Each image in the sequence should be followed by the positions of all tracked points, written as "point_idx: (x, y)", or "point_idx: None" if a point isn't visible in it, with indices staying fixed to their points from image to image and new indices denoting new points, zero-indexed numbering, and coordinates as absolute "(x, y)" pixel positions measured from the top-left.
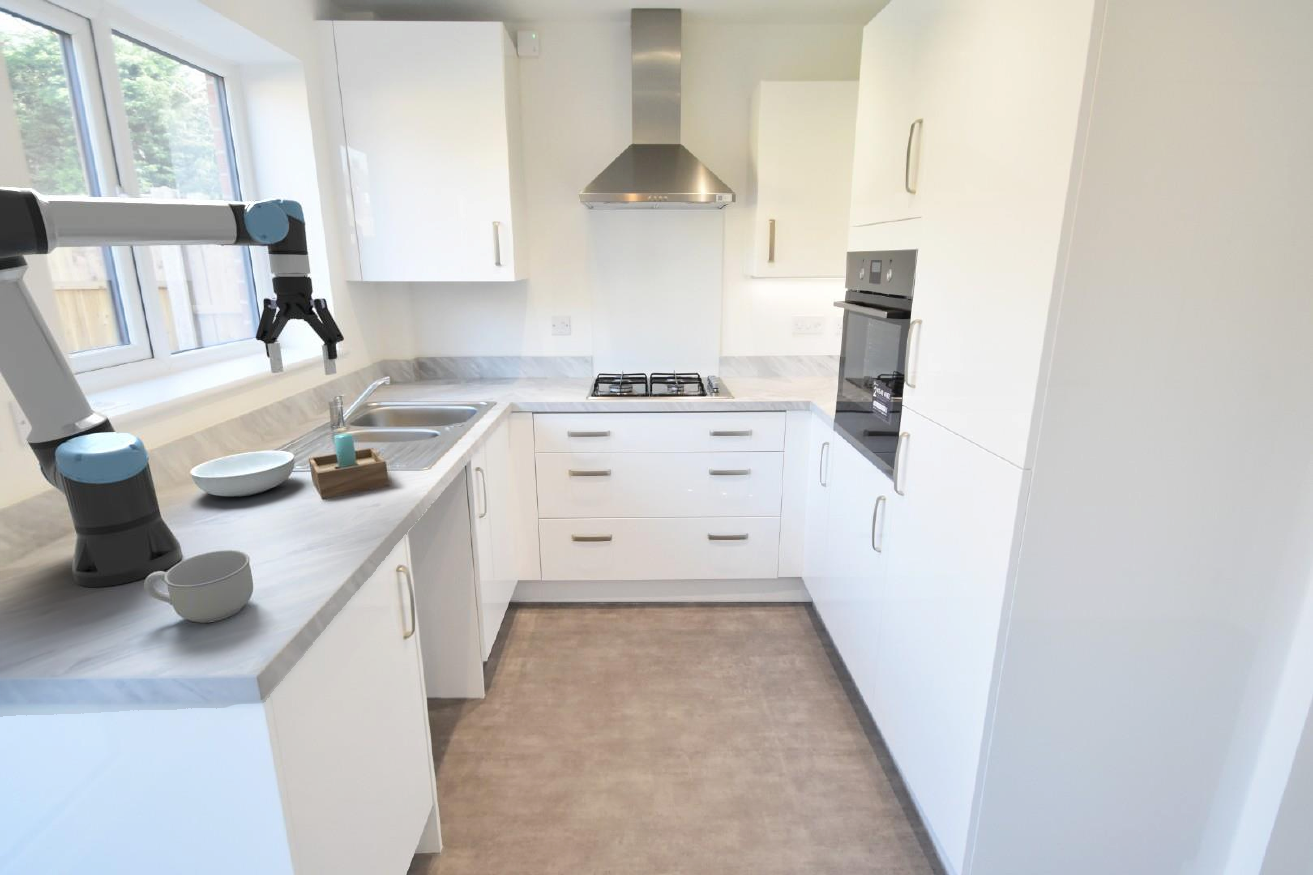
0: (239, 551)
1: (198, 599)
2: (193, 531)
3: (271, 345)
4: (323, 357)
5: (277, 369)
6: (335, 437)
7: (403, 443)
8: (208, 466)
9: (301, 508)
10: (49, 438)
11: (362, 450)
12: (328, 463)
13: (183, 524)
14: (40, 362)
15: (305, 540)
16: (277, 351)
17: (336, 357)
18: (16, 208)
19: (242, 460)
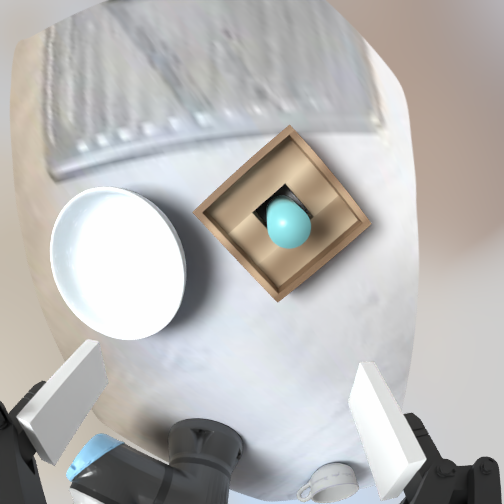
0: (345, 484)
1: (338, 492)
2: (187, 387)
3: (56, 457)
4: (367, 455)
5: (99, 374)
6: (279, 245)
7: None
8: (58, 263)
9: (269, 322)
10: None
11: (277, 144)
12: (224, 192)
13: (157, 370)
14: None
15: (334, 396)
16: (59, 412)
17: (415, 420)
18: None
19: (70, 214)
